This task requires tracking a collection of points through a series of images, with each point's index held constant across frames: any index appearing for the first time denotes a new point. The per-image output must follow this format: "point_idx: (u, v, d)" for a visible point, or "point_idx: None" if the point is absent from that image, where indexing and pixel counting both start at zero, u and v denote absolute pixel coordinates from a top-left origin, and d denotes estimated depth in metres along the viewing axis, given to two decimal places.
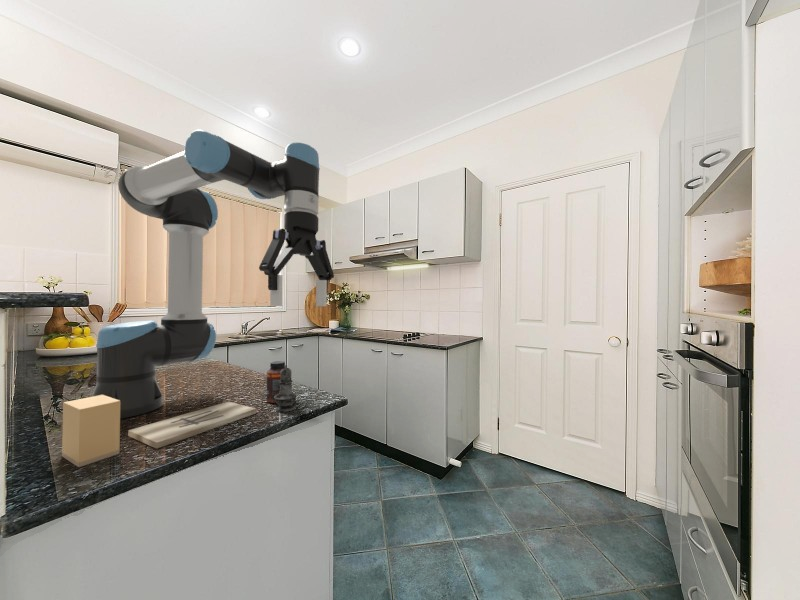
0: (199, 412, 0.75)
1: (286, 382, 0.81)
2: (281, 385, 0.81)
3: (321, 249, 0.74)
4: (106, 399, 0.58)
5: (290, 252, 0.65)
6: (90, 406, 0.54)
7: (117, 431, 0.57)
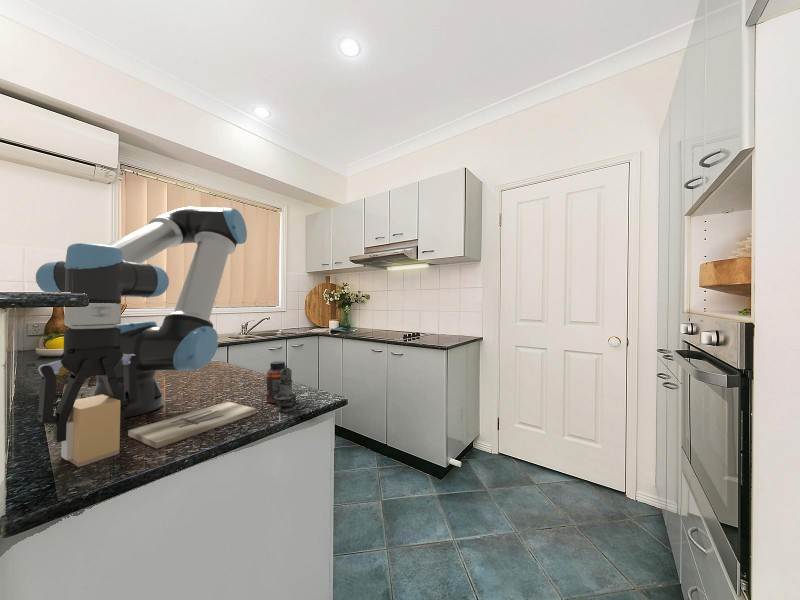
0: (199, 412, 0.75)
1: (286, 382, 0.81)
2: (281, 385, 0.81)
3: (128, 365, 0.61)
4: (106, 399, 0.58)
5: (74, 386, 0.54)
6: (90, 406, 0.54)
7: (117, 431, 0.57)
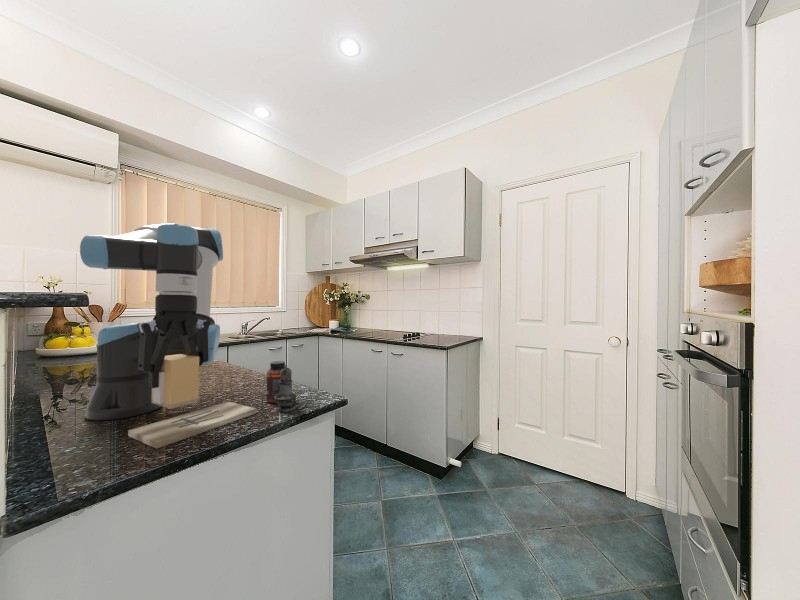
0: (199, 412, 0.75)
1: (286, 382, 0.81)
2: (281, 385, 0.81)
3: (201, 329, 0.72)
4: (186, 356, 0.69)
5: (165, 342, 0.64)
6: (178, 359, 0.65)
7: (197, 382, 0.67)
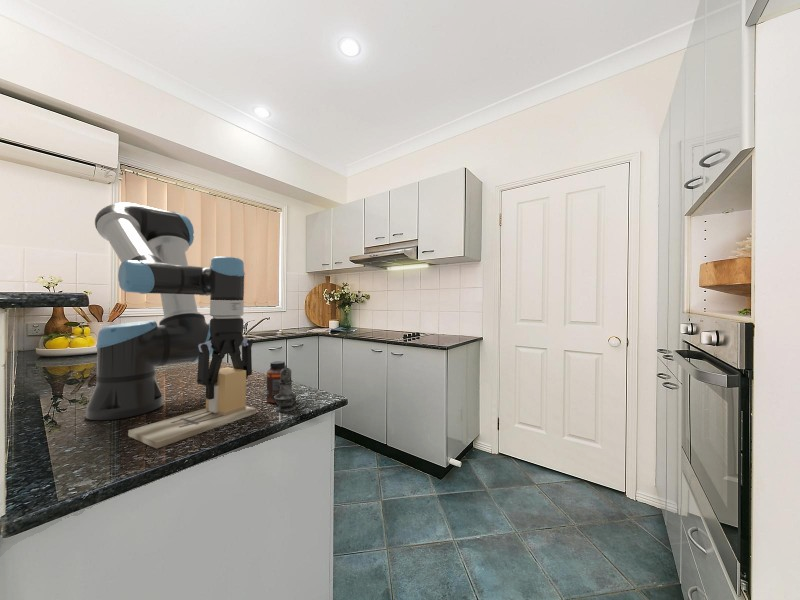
0: (199, 412, 0.75)
1: (286, 382, 0.81)
2: (281, 385, 0.81)
3: (246, 347, 0.82)
4: (234, 369, 0.79)
5: (218, 360, 0.75)
6: (229, 373, 0.75)
7: (244, 392, 0.78)
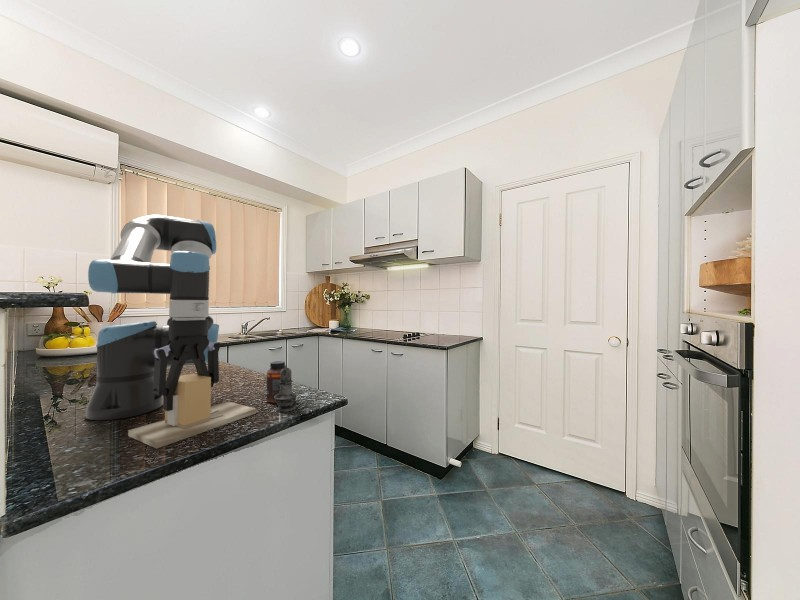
0: None
1: (286, 382, 0.81)
2: (281, 385, 0.81)
3: (212, 351, 0.74)
4: (198, 376, 0.71)
5: (178, 367, 0.67)
6: (191, 380, 0.67)
7: (209, 402, 0.70)
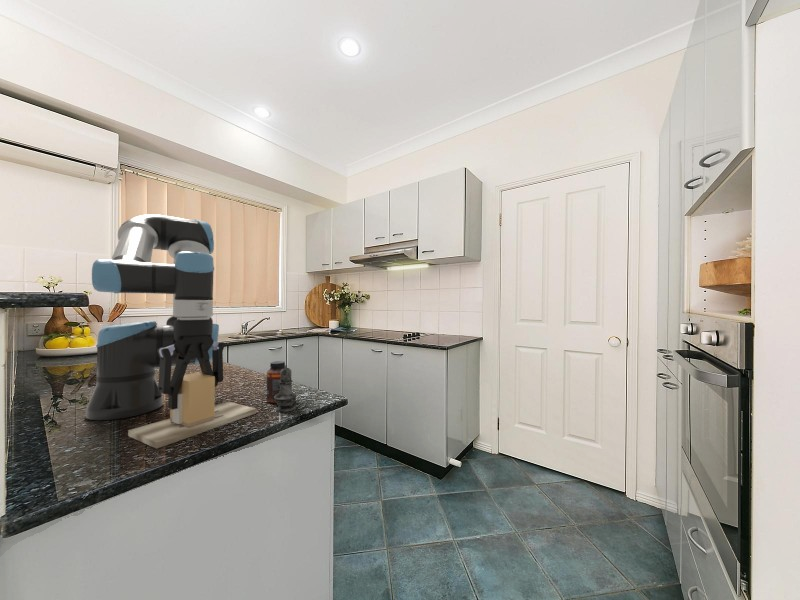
0: None
1: (286, 382, 0.81)
2: (281, 385, 0.81)
3: (217, 351, 0.75)
4: (202, 375, 0.72)
5: (183, 366, 0.68)
6: (195, 379, 0.68)
7: (213, 401, 0.71)
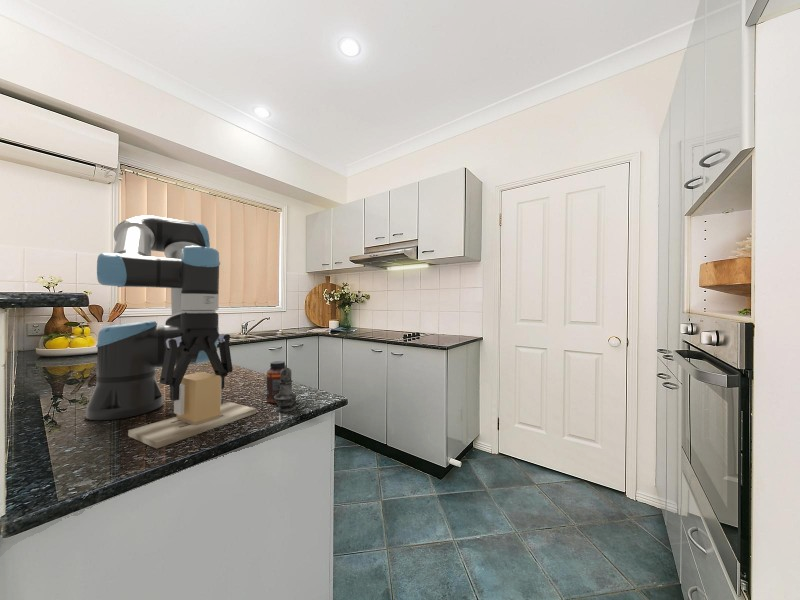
0: None
1: (286, 382, 0.81)
2: (281, 385, 0.81)
3: (223, 343, 0.76)
4: (208, 374, 0.73)
5: (187, 357, 0.68)
6: (201, 379, 0.69)
7: (218, 399, 0.72)
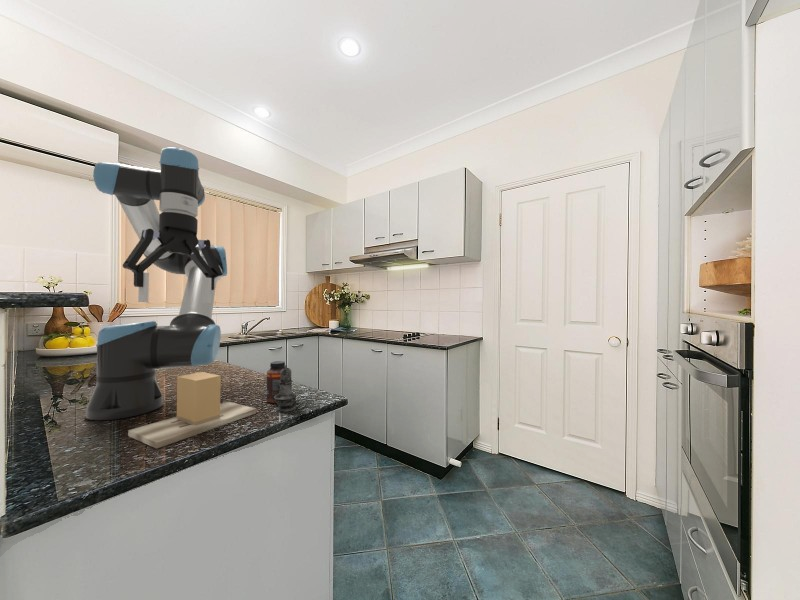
0: None
1: (286, 382, 0.81)
2: (281, 385, 0.81)
3: (205, 248, 0.78)
4: (208, 374, 0.73)
5: (160, 251, 0.69)
6: (201, 379, 0.69)
7: (218, 399, 0.72)
